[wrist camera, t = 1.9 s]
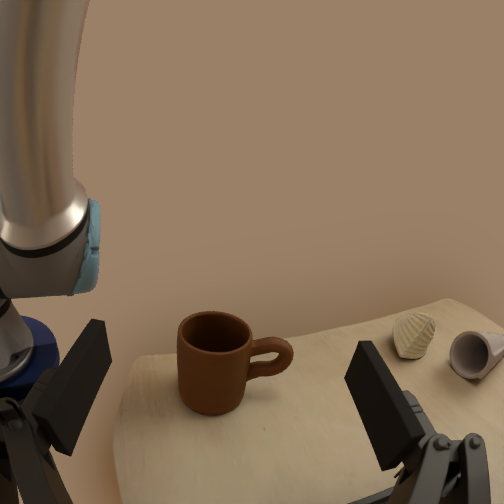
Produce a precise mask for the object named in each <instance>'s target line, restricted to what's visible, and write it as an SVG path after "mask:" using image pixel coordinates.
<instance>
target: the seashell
mask: <svg viewBox="0 0 504 504" xmlns="http://www.w3.org/2000/svg"><path fill="white" fill-rule="evenodd" d="M435 325H436V323H435V319H434V317H433V316H431V315H430V314H426V313H413V314H410V315H408V316H405V317H403V318H400V319H398V320H397V321H396V322H395V323H394V326H393V338H394V343H395V346H396V349H397V352H398V354H399V356H400V357H402V358H409V359H416V358H421V357H422V356H423V355H424V354H425V353H426V351H427V347H428V346H429V344H430V342H431V339H432V338H433V335H434V332H435Z"/></svg>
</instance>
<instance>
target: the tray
mask: <svg viewBox="0 0 504 504" xmlns="http://www.w3.org/2000/svg"><path fill="white" fill-rule="evenodd" d="M393 489H394V486H393V487H391V488H389V489H386V490H384V491H381V492H379V493H376V494H374V495H371V496H368V497H366V498H363V499H360V500H357V501H354V502H351V503H348V504H387V502H388V500H389V498H390V495H391V493H392V491H393Z"/></svg>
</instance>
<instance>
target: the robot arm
mask: <svg viewBox="0 0 504 504" xmlns="http://www.w3.org/2000/svg"><path fill="white" fill-rule="evenodd" d="M89 1H90V0H0V387H2V386H5V385H7V384H10V383H12V382H13V381H15V380H17V379H18V378H19V377H21V376H22V375H23V374H24V373H25V372H26V371H27V370H28V368H29V367H30V365H31V364H32V362H33V360H34V357H35V352H36V347H35V342H34V339H33V336H32V333H31V331H30V329H29V328H28V326H27V325H26V323H25V322H24V321H23V319H22V318H21V316H20V315H19V313H18V312H17V310H16V308H15V307H14V305H13V304H12V301H11V299H15V298H30V297H45V296H60V295H67V296H72V295H74V294H79V293H86V292H90V291H91V290H93V289H94V288H95V286H96V284H97V280H98V271H99V243H100V206H99V203H98V202H97V201H96V200H91V199H87V194H86V190H85V188H84V187H83V185H82V184H81V183H80V182H79V181H78V180H77V179H76V178H74V177H73V163H72V162H73V160H72V125H73V104H74V90H75V79H76V70H77V63H78V56H79V49H80V43H81V37H82V32H83V27H84V22H85V18H86V13H87V9H88V5H89ZM111 363H112V358H111V354H110V349H109V344H108V339H107V333H106V327H105V322H104V321H102V320H96V319H91V320H90V322H89V323H88V324H87V326H86V327H85V329H84V330H83V332H82V333H81V334H80V336H79V337H78V339H77V340H76V342H75V343H74V345H73V346H72V348H71V349H70V351H69V352H68V353H67V355H66V357H65V358H64V360H63V361H62V363H61V364H60V366H59V367H58V369H55V368H52V367H49V368H48V369H46V370H45V371H43V372H42V373H41V375H40V376H39V378H38V379H37V382H35V384H34V385H33V388H32V389H31V390H30V392H29V393H28V395H27V397H26V398H25V400H24V401H23V403H22V405H21V406H20V405H19V404H18V402H17V401H16V400H15V399H13V398H10V397H6V398H2V399H0V504H19V499H18V490H17V486H18V489H19V492H20V495H21V497H22V500H23V503H24V504H73V502H72V500H71V498H70V496H69V494H68V492H67V490H66V488H65V486H64V484H63V481H62V479H61V477H60V475H59V472H58V470H57V467H56V465H55V462H54V460H53V457H52V455H51V453H50V451H49V448H50V446H51V444H52V446H53V447H54V448H55V450H56V451H58V452H60V453H63V454H65V455H68V456H71V455H72V453H73V450H74V448H75V445H76V442H77V440H78V437H79V435H80V432H81V430H82V427H83V425H84V423H85V420H86V418H87V416H88V413H89V411H90V409H91V406H92V404H93V402H94V399H95V397H96V395H97V392H98V390H99V388H100V386H101V384H102V382H103V379H104V377H105V375H106V373H107V371H108V369H109V367H110V365H111ZM344 379H345V381H346V383H347V386H348V388H349V391H350V393H351V395H352V398H353V400H354V403H355V405H356V407H357V410H358V412H359V415H360V417H361V420H362V422H363V424H364V427H365V429H366V432H367V434H368V437H369V439H370V442H371V444H372V447H373V449H374V452H375V455H376V457H377V460H378V462H379V465H380V467H381V470H382V471H385V470H389V469H393V468H396V467H397V466H398V465H399V464H400V463H401V462H403V464H404V467H403V468H402V469H401V470H400V471H399V472H398V473H397V474H396V475H395V476H394V478H396V477H397V476H398V475H399V477H398V479H397V482H396V484H395V486H394V489H393V491H392V493H391V495H390V498H389V500H388V502H387V504H491V496H490V481H489V471H488V462H487V455H486V448H485V443H484V440H483V438H482V437H481V436H480V435H478V434H476V433H470V434H468V435H467V436H466V437H465V438H464V439H463V440H450V439H449V438H448V437H447V436H445V435H443V434H437V433H436V431H435V430H434V428H433V426H432V424H431V423H430V421H429V419H428V417H427V416H426V414H425V412H423V409H422V407H421V406H420V404H419V402H418V401H417V399H416V397H415V396H414V395H413V394H411V393H410V392H409V391H408V390H407V391H402V390H401V389H400V387H399V385H398V384H397V382H396V380H395V379H394V377H393V375H392V374H391V372H390V370H389V369H388V367H387V365H386V364H385V362H384V360H383V359H382V357H381V355H380V354H379V352H378V351H377V349H376V347H375V346H374V344H373V343H372V341H359V342H358V345H357V348H356V350H355V353H354V355H353V358H352V360H351V363H350V365H349V368H348V370H347V372H346V375H345V377H344ZM460 473H461V476H460Z"/></svg>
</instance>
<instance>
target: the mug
mask: <svg viewBox="0 0 504 504" xmlns="http://www.w3.org/2000/svg"><path fill="white" fill-rule="evenodd" d="M270 352H277V353H279V355H278V357H277V358H276V359H274V360H272V361H256V362H252V363H250V357H252V356H255V355H260V354H265V353H270ZM293 354H294V352H293V349H292V346H291V345H290V344H289V343H288V342H287V341H286V340H283V339H281V338H277V337H267V338H262V339H257V340H252V332H251V329H250V327H249V326H248V325H247V324H246V323H245V322H244V321H243V320H242V319H240V318H238V317H236V316H233V315H231V314H228V313H223V312H215V311H206V312H199V313H195V314H192V315H190V316H188V317H187V318H185V319H184V320H183V321H182V322H181V324H180V325H179V328H178V336H177V367H178V382H179V391H180V395H181V397H182V399H183V401H184V402H185V403H186V404H187V405H188V406H189V407H190V408H192V409H193V410H195V411H197V412H200V413H203V414H208V415H218V414H224V413H227V412H229V411H231V410H233V409H234V408H236V407H237V406H238V405H239V404H240V402H241V400H242V398H243V396H244V392H245V386H246V382H247V381H249V380H251V379H253V378H257V377H259V376H273V375H276V374H279V373H281V372H283V371H284V370H285V369H286V368H287V367H288V366H289V365H290V364H291V362H292V360H293Z"/></svg>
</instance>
